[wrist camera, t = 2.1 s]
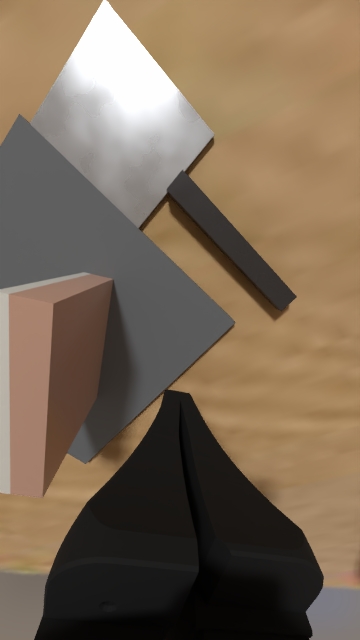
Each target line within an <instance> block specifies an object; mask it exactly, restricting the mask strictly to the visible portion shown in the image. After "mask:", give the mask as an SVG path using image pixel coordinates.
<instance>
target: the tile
mask: <svg viewBox="0 0 360 640" xmlns="http://www.w3.org/2000/svg"><path fill="white" fill-rule="evenodd" d="M112 284H113V279H111V278H107V277H102V276H98V275H94V274H89V273H85V272H83V273H78V274H73V275H68V276H63V277H58V278H54V279H49V280H44V281H39V282H34V283H29V284H24V285H19V286H14V287H10V288H5V289H0V493H6V494H14V495H22V496H30V497H38V498H43V496H44V494H45V493H46V491H47V489H48V487H49V485H50V483H51V482H52V480H53V478H54V476H55V474H56V472H57V470H58V469H59V467H60V465H61V463H62V461H63V459H64V457H65V456H66V454H67V452H68V450H69V448H70V446H71V445H72V443H73V441H74V439H75V437H76V435H77V433H78V432H79V430H80V428H81V426H82V424H83V422H84V420H85V419H86V417H87V415H88V413H89V411H90V409H91V407H92V406H93V404H94V402H95V400H96V398H97V393H98V386H99V378H100V371H101V364H102V357H103V349H104V342H105V335H106V328H107V320H108V313H109V306H110V299H111V291H112Z"/></svg>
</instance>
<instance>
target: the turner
mask: <svg viewBox="0 0 360 640" xmlns="http://www.w3.org/2000/svg"><path fill="white" fill-rule="evenodd" d="M30 124H31V125H32V126H33V127H34V128H35V129H36V130H37V131H38V132H39V133H40V134H41V135H42V136H43V137H44V138H45V139H46V140H47V141H48V142H49V143H50V144H51V145H52V146H53V147H54V148H55V149H56V150H58V151H59V152H60V153H61V154H62V155H63V156H64V157H65V158H66V159H67V160H68V161H69V162H70V163H71V164H72V165H73V166H74V167H75V168H76V169H77V170H78V171H79V172H80V173H81V174H82V175H83V176H84V177H86V178H87V179H88V180H89V181H90V182H91V183H92V184H93V185H94V186H95V187H96V188H97V189H98V190H99V191H100V192H101V193H102V194H103V195H104V196H105V197H106V198H107V199H108V200H109V201H110V202H111V203H112V204H114V205H115V206H116V207H117V208H118V209H119V210H120V211H121V212H122V213H123V214H124V215H125V216H126V217H127V218H128V219H129V220H130V221H131V222H132V223H133V224H134V225H135V226H136V227H137V228H140V227H141V225H142V224H143V223H144V222H145V221H146V219H147V218H148V217H149V216H150V214H151V213H152V212H153V211H154V210H155V208H156V207H157V206H158V205H159V203H160V202H161V201H162V200H163V199H164V197H165V196H166V195H167V194H168V195H169V196H170V197H171V198H172V199H173V200H174V201H175V202H176V203H177V204H178V206H179V207H180V208H181V209H182V210H183V211H184V212H185V213H186V214H187V215H188V216H189V217H190V218H191V219H192V220H193V221H194V222H195V223H196V225H197V226H198V227H199V228H200V229H201V230H202V231H203V232H204V233H205V234H206V235H207V236H208V237H209V238H210V239H211V240H212V241H213V242H214V244H215V245H216V246H217V247H218V248H219V249H220V250H221V251H222V252H223V253H224V254H225V255H226V256H227V257H228V258H229V259H230V260H231V261H232V262H233V264H234V265H235V266H236V267H237V268H238V269H239V270H240V271H241V272H242V273H243V274H244V275H245V276H246V277H247V278H248V279H249V280H250V281H251V283H252V284H253V285H254V286H255V287H256V288H257V289H258V290H259V291H260V292H261V293H262V294H263V295H264V296H265V297H266V298H267V299H268V300H269V302H270V303H271V304H272V305H273V306H274V307H275V308H276V309H278V310H280V311H282V310H283V309H284V308H285V307H286V306H287V305H288V304H290V303H291V302H292V301H293V300H294V299H295V298H296V295H295V294H294V293H293V292H292V291H291V290H290V289H289V288H288V286H287V285H286V284H285V283H284V282H283V281H282V280H281V279H280V278H279V276H278V275H277V274H276V273H275V272H274V271H273V270H272V269H271V268H270V266H269V265H268V264H267V263H266V262H265V261H264V260H263V259H262V258H261V256H260V255H259V254H258V253H257V252H256V251H255V250H254V249H253V247H252V246H251V245H250V244H249V243H248V242H247V241H246V240H245V239H244V237H243V236H242V235H241V234H240V233H239V232H238V231H237V230H236V229H235V227H234V226H233V225H232V224H231V223H230V222H229V221H228V220H227V218H226V217H225V216H224V215H223V214H222V213H221V212H220V211H219V210H218V208H217V207H216V206H215V205H214V204H213V203H212V202H211V201H210V200H209V198H208V197H207V196H206V195H205V194H204V193H203V192H202V191H201V190H200V188H199V187H198V186H197V185H196V184H195V183H194V182H193V181H192V179H191V178H190V177H189V176H188V175H187V174H186V173H185V172H186V170H187V169H188V168H189V167H190V165H191V164H192V163H193V162H194V161H195V159H196V158H197V157H198V156H199V154H200V153H201V152H202V151H203V150H204V148H205V147H206V146H207V145H208V143H209V142H210V141H211V140H212V139H213V137H214V135H215V134H214V133H213V132H212V131H211V129H210V128H209V127H208V126H207V124H206V123H205V122H204V121H203V120H202V118H201V117H200V116H199V115H198V113H197V112H196V111H195V110H194V108H193V107H192V106H191V105H190V104H189V102H188V101H187V100H186V99H185V97H184V96H183V95H182V94H181V93H180V91H179V90H178V89H177V88H176V86H175V85H174V84H173V83H172V82H171V80H170V79H169V78H168V77H167V75H166V74H165V73H164V72H163V71H162V69H161V68H160V67H159V66H158V64H157V63H156V62H155V61H154V60H153V58H152V57H151V56H150V55H149V53H148V52H147V51H146V50H145V48H144V47H143V46H142V45H141V44H140V42H139V41H138V40H137V39H136V37H135V36H134V35H133V34H132V33H131V31H130V30H129V29H128V28H127V26H126V25H125V24H124V23H123V22H122V20H121V19H120V18H119V17H118V15H117V14H116V13H115V12H114V11H113V9H112V8H111V7H110V6H109V4H108V3H107V2H106V1H105V0H104V2H103V3H102V5H101V7H100V8H99V10H98V12H97V13H96V15H95V16H94V18H93V20H92V21H91V23H90V25H89V26H88V28H87V30H86V31H85V33H84V35H83V36H82V38H81V40H80V41H79V43H78V45H77V46H76V48H75V50H74V51H73V53H72V55H71V56H70V58H69V60H68V61H67V63H66V65H65V66H64V68H63V70H62V71H61V73H60V75H59V76H58V78H57V80H56V81H55V83H54V84H53V86H52V88H51V89H50V91H49V93H48V94H47V96H46V98H45V99H44V101H43V103H42V104H41V106H40V108H39V109H38V111H37V113H36V114H35V116H34V118H33V119H32V121H31V123H30Z"/></svg>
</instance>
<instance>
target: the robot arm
mask: <svg viewBox="0 0 360 640" xmlns="http://www.w3.org/2000/svg"><path fill="white" fill-rule="evenodd" d="M323 579H324V576H323V574H322V572H321V569H320V567H319V565H318V563H317V560H316V558H315V556H314V554H313V551H312V549H311V547H310V545H309V543H308V541H307V539H306V537H305V535H304V533H303V531H302V530H301V529H300V528H299V527H298V526H297V525H296V524H294V523H293V522H292V521H291V520H290V519H289V518H288V517H286V516H285V515H284V514H283V513H282V512H281V511H280V510H278V509H277V508H276V507H275V506H274V505H273V504H272V503H271V502H270V501H269V500H268V499H267V498H266V497H265V496H264V495H263V494H262V493H261V492H260V491H258V490H257V488H256V487H255V486H254V485H253V484H252V483H251V482H250V481H249V480H248V479H247V478H246V477H245V476H244V475H243V473H242V472H241V471H240V470H239V469H238V468H237V467H236V465H235V464H234V463H233V462H232V461H231V459H230V458H229V457H228V456H227V454H226V453H225V452H224V450H223V449H222V448H221V446H220V445H219V443H218V442H217V441H216V439H215V437H214V436H213V434H212V433H211V431H210V430H209V428H208V426H207V425H206V423H205V421H204V419H203V418H202V416H201V414H200V412H199V410H198V408H197V407H196V405H195V403H194V401H193V399H192V396H191V395H190V394H189V393H184V392H179V391H173V390H168V389H167V390H165V392H164V396H163V400H162V404H161V407H160V409H159V412H158V414H157V416H156V418H155V420H154V421H153V423H152V425H151V427H150V428H149V430H148V432H147V433H146V435H145V436H144V438H143V439H142V441H141V442H140V444H139V445H138V446H137V448H136V449H135V450H134V452H133V453H132V454H131V456H130V457H129V458H128V459H127V461H126V462H125V463H124V464H123V465H122V466H121V468H120V469H119V470H118V471H117V472H116V473H115V474H114V475H113V477H112V478H111V479H110V480H109V481H108V482H107V483H106V484H105V485H104V486H103V487H102V488H101V489H100V490H99V491H98V492H97V493H96V494H95V495H94V496H93V497H92V498H91V499H90V500H89V501H88V502H87V503H86V505H85V506H84V508H83V509H82V511H81V512H80V514H79V515H78V517H77V519H76V520H75V522H74V523H73V525H72V527H71V528H70V530H69V532H68V533H67V535H66V537H65V539H64V541H63V542H62V544H61V547H60V549H59V551H58V553H57V555H56V558H55V560H54V563H53V566H52V568H51V571H50V574H49V576H48V579H47V582H46V586H45V597H44V611H43V617H42V620H41V622H40V625H39V628H38V630H37V634H36V636H35V639H34V640H309V638H311V636H312V629H311V626H310V624H309V621H308V618H307V615H306V610H307V609H308V608H309V607H310V605H311V604H312V603H313V601H314V600H315V599H316V597H317V596H318V595H319V593H320V591H321V589H322V587H323Z"/></svg>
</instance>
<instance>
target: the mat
mask: <svg viewBox="0 0 360 640" xmlns="http://www.w3.org/2000/svg"><path fill="white" fill-rule="evenodd" d="M83 272H85V273H89V274H94V275H98V276H102V277H107V278H111V279H113V284H112V291H111V299H110V306H109V313H108V320H107V328H106V335H105V342H104V349H103V357H102V364H101V371H100V378H99V386H98V393H97V398H96V400H95V402H94V404H93V406H92V407H91V409H90V411H89V413H88V415H87V417H86V419H85V420H84V422H83V424H82V426H81V428H80V430H79V432H78V433H77V435H76V437H75V439H74V441H73V443H72V445H71V446H70V448H69V450H68V452H67V453H68V454H70V455H71V456H73V457H75V458H76V459H78V460H80V461H82V462H83V463H85V464H86V463H87V462H88V461H89V460H90V459H91V458H92V457H93V456H95V455H96V454H97V453H98V452H99V451H100V450H101V449H102V448H103V447H104V446H105V445H106V444H107V443H108V442H109V441H110V440H112V439H113V438H114V437H115V436H116V435H117V434H118V433H119V432H120V431H121V430H122V429H123V428H124V427H125V426H126V425H127V424H128V423H130V422H131V421H132V420H133V419H134V418H135V417H136V416H137V415H138V414H139V413H140V412H141V411H142V410H143V409H144V408H145V407H146V406H148V405H149V404H150V403H151V402H152V401H153V400H154V399H155V398H156V397H157V396H158V395H159V394H160V393H161V392H162V391H163V390H164V389H166V388H167V387H168V386H169V385H170V384H171V383H172V382H173V381H174V380H175V379H176V378H177V377H178V376H179V375H180V374H181V373H182V372H184V371H185V370H186V369H187V368H188V367H189V366H190V365H191V364H192V363H193V362H194V361H195V360H196V359H197V358H198V357H199V356H200V355H202V354H203V353H204V352H205V351H206V350H207V349H208V348H209V347H210V346H211V345H212V344H213V343H214V342H215V341H216V340H217V339H219V338H220V337H221V336H222V335H223V334H224V333H225V332H226V331H227V330H228V329H229V328H230V327H231V326H232V325H233V324H234V323H235V321H234V320H233V319H232V318H231V317H230V316H229V315H228V314H227V313H226V312H225V311H224V310H223V309H222V308H221V307H219V306H218V305H217V304H216V303H215V302H214V301H213V300H212V299H211V298H210V297H209V296H208V295H207V294H206V293H205V292H204V291H203V290H202V289H201V288H200V287H199V286H198V285H197V284H196V283H195V282H194V281H193V280H191V279H190V278H189V277H188V276H187V275H186V274H185V273H184V272H183V271H182V270H181V269H180V268H179V267H178V266H177V265H176V264H175V263H174V262H173V261H172V260H171V259H170V258H169V257H168V256H167V255H166V254H165V253H164V252H162V251H161V250H160V249H159V248H158V247H157V246H156V245H155V244H154V243H153V242H152V241H151V240H150V239H149V238H148V237H147V236H146V235H145V234H144V233H143V232H142V231H141V230H140V229H139V228H137V227H136V226H135V225H134V224H133V223H132V222H131V221H130V220H129V219H128V218H127V217H126V216H125V215H124V214H123V213H122V212H121V211H120V210H119V209H118V208H117V207H116V206H115V205H114V204H112V203H111V202H110V201H109V200H108V199H107V198H106V197H105V196H104V195H103V194H102V193H101V192H100V191H99V190H98V189H97V188H96V187H95V186H94V185H93V184H92V183H91V182H90V181H89V180H88V179H87V178H86V177H84V176H83V175H82V174H81V173H80V172H79V171H78V170H77V169H76V168H75V167H74V166H73V165H72V164H71V163H70V162H69V161H68V160H67V159H66V158H65V157H64V156H63V155H62V154H61V153H60V152H59V151H58V150H56V149H55V148H54V147H53V146H52V145H51V144H50V143H49V142H48V141H47V140H46V139H45V138H44V137H43V136H42V135H41V134H40V133H39V132H38V131H37V130H36V129H35V128H34V127H33V126H32V125H31V124H30V123H29V122H28V121H27V120H26V119H24V118H23V117H22V116H21V115H20V114H19V116H18V117H17V119H16V121H15V122H14V124H13V126H12V128H11V129H10V131H9V133H8V134H7V136H6V138H5V139H4V141H3V143H2V145H1V146H0V289H5V288H10V287H14V286H19V285H24V284H29V283H34V282H39V281H44V280H49V279H54V278H58V277H63V276H68V275H73V274H78V273H83Z"/></svg>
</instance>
